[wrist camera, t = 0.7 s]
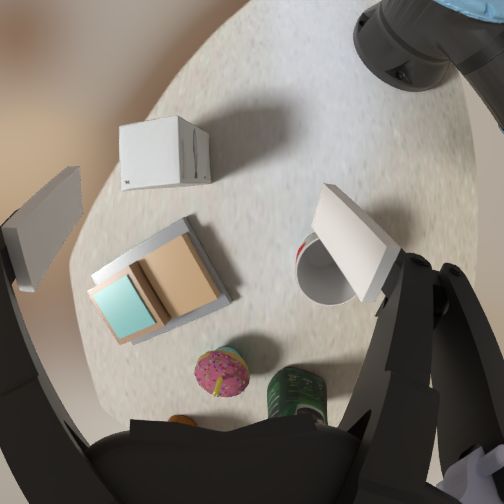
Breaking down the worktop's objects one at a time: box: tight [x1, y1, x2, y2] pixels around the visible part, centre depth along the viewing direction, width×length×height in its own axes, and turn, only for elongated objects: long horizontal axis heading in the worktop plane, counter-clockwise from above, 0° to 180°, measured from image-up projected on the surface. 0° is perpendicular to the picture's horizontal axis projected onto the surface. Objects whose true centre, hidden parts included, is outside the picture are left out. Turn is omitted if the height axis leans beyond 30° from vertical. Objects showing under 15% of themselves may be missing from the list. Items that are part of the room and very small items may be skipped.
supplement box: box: [119, 115, 211, 191], centre depth 33 cm, size 7×7×13 cm
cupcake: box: [194, 347, 250, 397], centre depth 40 cm, size 9×8×12 cm
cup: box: [295, 232, 357, 307], centre depth 35 cm, size 8×8×10 cm
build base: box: [87, 217, 232, 345], centre depth 42 cm, size 20×14×6 cm
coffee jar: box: [267, 368, 328, 425], centre depth 37 cm, size 10×8×19 cm
